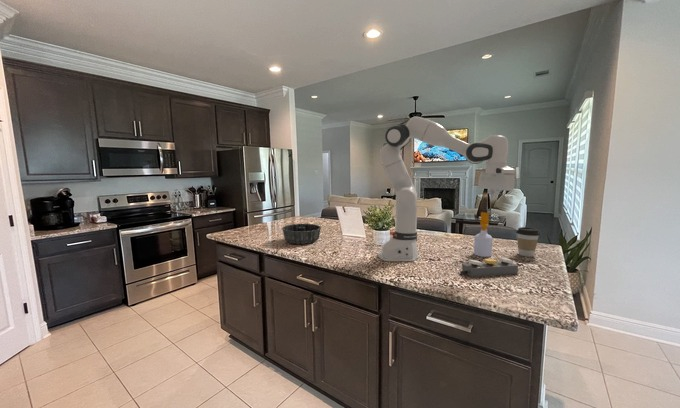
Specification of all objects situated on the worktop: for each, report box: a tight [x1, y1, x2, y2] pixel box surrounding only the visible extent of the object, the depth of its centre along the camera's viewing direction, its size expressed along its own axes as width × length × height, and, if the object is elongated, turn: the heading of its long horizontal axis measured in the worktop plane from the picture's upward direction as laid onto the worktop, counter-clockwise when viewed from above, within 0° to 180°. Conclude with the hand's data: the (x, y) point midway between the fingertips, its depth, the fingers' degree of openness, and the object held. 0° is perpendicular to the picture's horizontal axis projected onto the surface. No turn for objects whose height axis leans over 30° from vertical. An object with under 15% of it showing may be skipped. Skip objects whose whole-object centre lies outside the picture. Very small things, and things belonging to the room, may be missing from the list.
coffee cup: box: [515, 226, 541, 258], centre depth 161 cm, size 11×11×15 cm
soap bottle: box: [473, 211, 493, 258], centre depth 160 cm, size 9×9×25 cm
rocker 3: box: [497, 256, 514, 263], centre depth 134 cm, size 5×3×1 cm, turn 101°
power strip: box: [459, 260, 519, 278], centre depth 133 cm, size 27×7×5 cm, turn 101°
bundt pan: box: [281, 223, 322, 245], centre depth 194 cm, size 26×26×10 cm
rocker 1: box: [467, 259, 483, 265], centre depth 132 cm, size 5×3×1 cm, turn 101°
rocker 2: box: [482, 258, 499, 264], centre depth 133 cm, size 5×3×1 cm, turn 101°
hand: (493, 198), depth 137 cm, fingers closed
